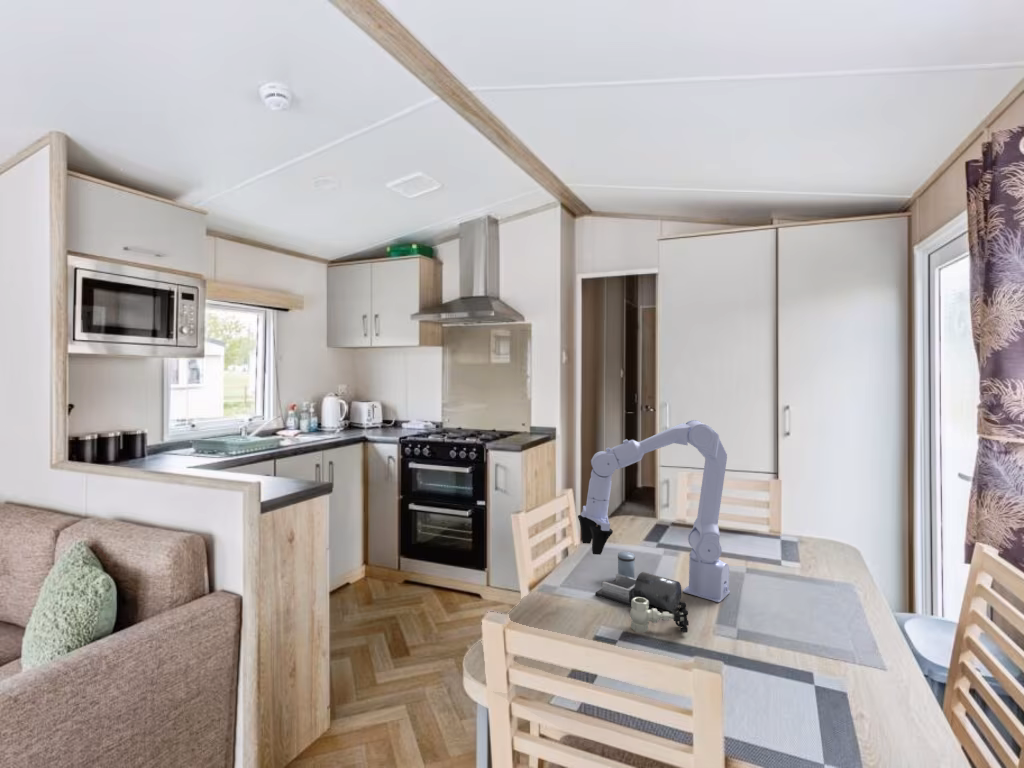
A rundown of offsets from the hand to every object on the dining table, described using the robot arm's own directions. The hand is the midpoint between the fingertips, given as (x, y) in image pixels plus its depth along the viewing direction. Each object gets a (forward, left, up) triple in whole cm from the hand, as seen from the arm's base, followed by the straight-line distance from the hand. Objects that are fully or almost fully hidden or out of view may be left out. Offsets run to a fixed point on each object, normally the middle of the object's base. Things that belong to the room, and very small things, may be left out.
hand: (591, 548), depth 144 cm
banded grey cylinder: (-5, -10, -10) cm, 15 cm away
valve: (-23, +10, -11) cm, 27 cm away
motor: (-13, -1, -10) cm, 17 cm away
